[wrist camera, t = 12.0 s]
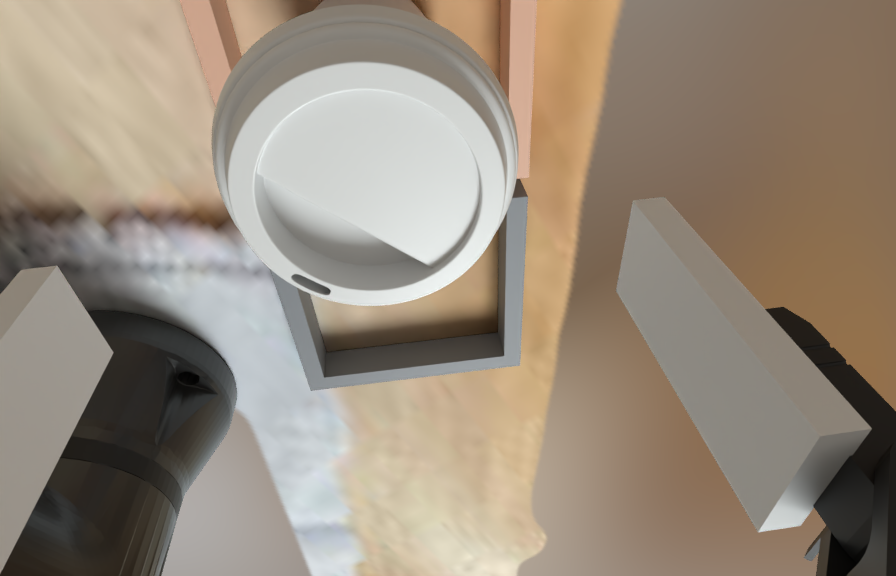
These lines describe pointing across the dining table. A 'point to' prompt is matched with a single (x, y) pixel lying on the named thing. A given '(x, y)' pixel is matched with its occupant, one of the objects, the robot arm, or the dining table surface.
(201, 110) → the dining table surface
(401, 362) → the cup caddy
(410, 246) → the coffee cup
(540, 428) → the dining table surface
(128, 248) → the dining table surface
